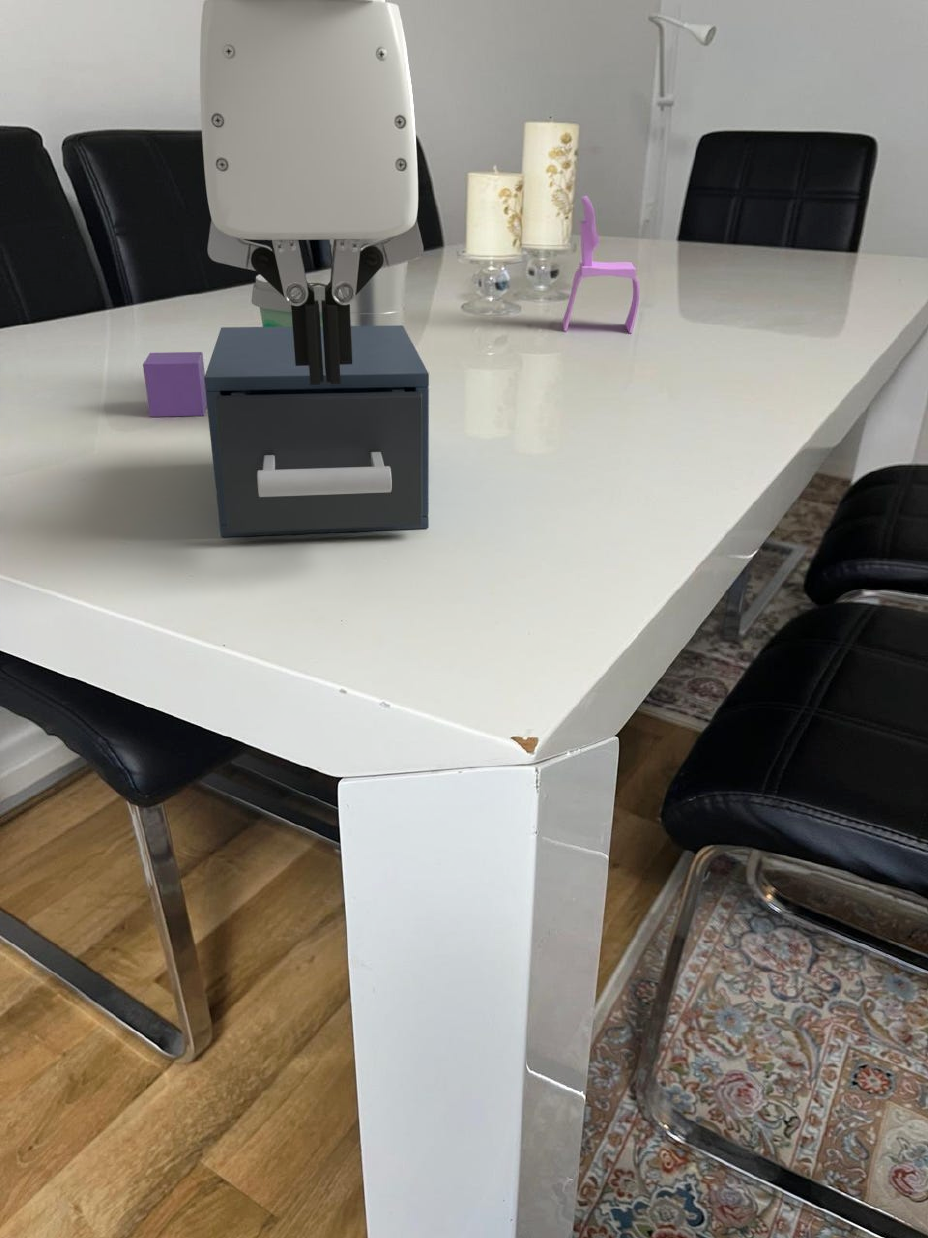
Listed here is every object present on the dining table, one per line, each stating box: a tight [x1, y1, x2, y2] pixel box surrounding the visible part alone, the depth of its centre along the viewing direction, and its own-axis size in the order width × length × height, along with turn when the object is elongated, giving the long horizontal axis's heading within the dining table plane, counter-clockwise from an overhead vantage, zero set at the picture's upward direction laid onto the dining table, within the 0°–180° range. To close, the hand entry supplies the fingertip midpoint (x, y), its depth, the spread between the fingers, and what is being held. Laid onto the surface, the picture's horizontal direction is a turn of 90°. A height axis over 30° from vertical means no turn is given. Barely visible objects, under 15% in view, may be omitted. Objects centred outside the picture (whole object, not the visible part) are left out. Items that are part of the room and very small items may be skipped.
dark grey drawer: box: [215, 387, 422, 533], centre depth 59 cm, size 18×11×8 cm, turn 9°
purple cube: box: [142, 351, 207, 418], centre depth 82 cm, size 4×4×4 cm
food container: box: [251, 273, 328, 327], centre depth 85 cm, size 12×6×10 cm, turn 55°
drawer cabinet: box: [204, 325, 430, 538], centre depth 63 cm, size 15×13×10 cm
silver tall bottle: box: [329, 238, 409, 327], centre depth 77 cm, size 6×7×20 cm
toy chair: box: [562, 195, 640, 334], centre depth 116 cm, size 8×9×15 cm
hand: (324, 378), depth 51 cm, fingers closed
